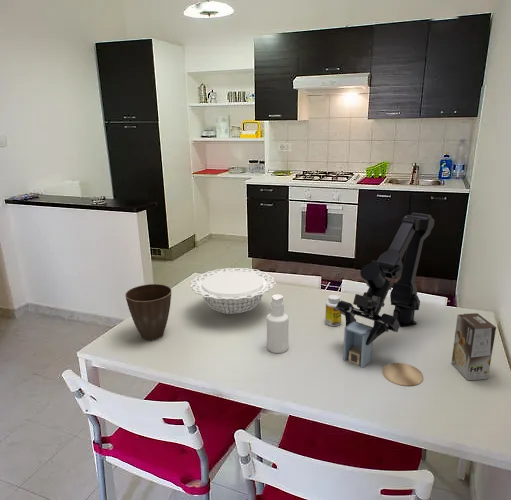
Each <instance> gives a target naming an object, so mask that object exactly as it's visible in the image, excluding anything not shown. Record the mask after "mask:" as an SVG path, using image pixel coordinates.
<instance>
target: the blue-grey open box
mask: <svg viewBox="0 0 511 500" xmlns="http://www.w3.org/2000/svg"><path fill="white" fill-rule="evenodd" d="M372 328H373V326H370V325H367V324H364V323H361V322H358V321H356V322H355V321H353V322H352V323H350V324H349V325H348V326H346V325H345V327H344V329H343V330H344V332H343V333H344V335H343V336H344V337H343V350H342V361H344V362H345V361H346V360H349V351H350V350H351V349H352V348H354V347H355V346H356V347H358V348H361V349H362V352H361V364H360V368H364V367H365V366H366V365H368V364H369V363H370V362H371V361H372V357H373V356H372V354H373V343H374V341H372V342H371V343H370V344H369V345H368V346H367V345H366V341H367V339H368V337H369V335H370V333H371V330H372Z"/></svg>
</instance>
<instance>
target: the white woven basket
mask: <svg viewBox="0 0 511 500" xmlns="http://www.w3.org/2000/svg"><path fill="white" fill-rule="evenodd" d="M189 283H190V286H189V287H190V288H191V291H194V293H195V294H197V295H201V296H202V297H203V299H204V301H205V302H206V304H207V305H208V306H209V307H210V309H213V310H214V311H216V312H218V313H222V314H223V313H224V314H231V315H233V314H240V313H241V314H243V313H246V312H249V311H251V310H253V309H254V308H255V307H256V306H258V304H259V303H261V302H260V301H262V298H263V294H265V293H268V292H269V290H273V288H274V285H276V284H277V282H276V281H275V278H274V276H271V274H268V273H267V272H265V271H261V270H259V269H255V268H254V269H253V268H247V267H242V268H241V267H227V268H216V269H213V270H209V271H206V272H204V273H201V274H200V275H197V276H195V277H194V278H193V279H192V280H190V282H189Z"/></svg>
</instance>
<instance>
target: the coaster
mask: <svg viewBox="0 0 511 500" xmlns="http://www.w3.org/2000/svg"><path fill="white" fill-rule="evenodd" d="M381 370H382V375H383V377H384V378H385V379H386V380H387V381H389V382H390V383H392V384H394V385H398V386H404V387H415V386H418V385H420V384H421V383H422V382H423V381H424V374H423V373H422V371H421V370H419V368H417V367H416V366H414V365H411V364H408V363H404V362H391V363H388V364H385V365H384V366H383V367H382V369H381Z"/></svg>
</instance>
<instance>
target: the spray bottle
mask: <svg viewBox="0 0 511 500" xmlns="http://www.w3.org/2000/svg"><path fill="white" fill-rule="evenodd" d="M270 304H271V306H270V307H271V308H270V313H268V314H267V315H266V348H267V350H268V351H269V352H270V353H274V354H282V353H286V351H288V349H289V316H288V314H287V313H285V307H284V306H285V303H284V296H283V295H282V294H280V293H279V294H273V295H272V296H271V303H270Z"/></svg>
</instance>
